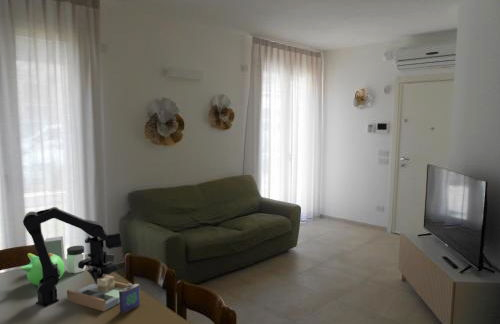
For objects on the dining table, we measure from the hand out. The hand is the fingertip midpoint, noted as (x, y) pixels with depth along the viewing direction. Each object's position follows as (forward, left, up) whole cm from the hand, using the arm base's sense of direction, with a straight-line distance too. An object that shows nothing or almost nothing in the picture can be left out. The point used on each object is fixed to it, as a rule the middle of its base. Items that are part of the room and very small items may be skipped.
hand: (98, 284), depth 166 cm
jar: (+13, +32, -4) cm, 35 cm away
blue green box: (-5, -24, -4) cm, 25 cm away
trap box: (-4, -5, -4) cm, 7 cm away
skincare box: (+11, +46, -4) cm, 47 cm away
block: (0, -5, -1) cm, 5 cm away
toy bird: (-5, +31, -4) cm, 31 cm away
